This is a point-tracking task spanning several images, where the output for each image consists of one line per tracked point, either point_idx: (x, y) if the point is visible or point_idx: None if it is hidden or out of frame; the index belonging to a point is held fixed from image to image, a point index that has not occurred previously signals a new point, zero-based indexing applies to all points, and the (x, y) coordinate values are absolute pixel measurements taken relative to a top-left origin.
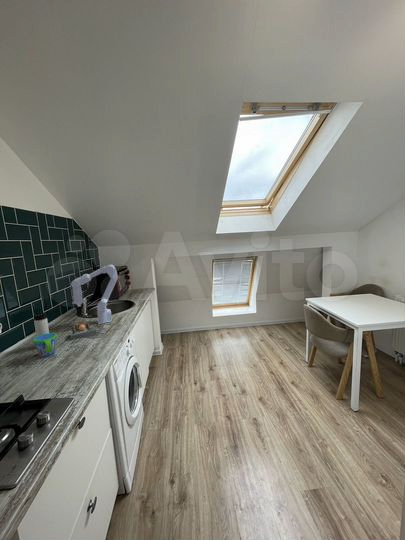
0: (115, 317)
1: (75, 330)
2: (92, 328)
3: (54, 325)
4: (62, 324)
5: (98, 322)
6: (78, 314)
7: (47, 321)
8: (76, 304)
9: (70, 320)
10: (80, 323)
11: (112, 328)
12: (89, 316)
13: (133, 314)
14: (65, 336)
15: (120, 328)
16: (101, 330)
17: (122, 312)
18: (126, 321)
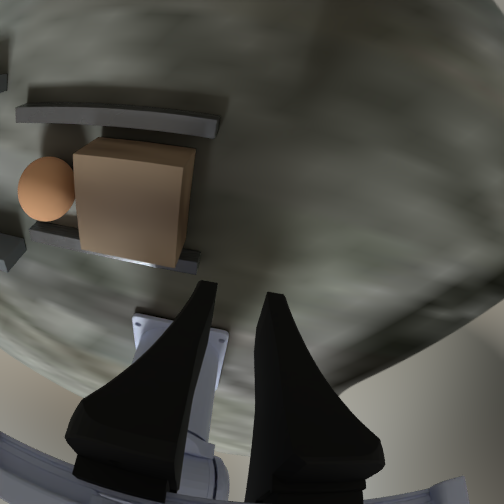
0: (216, 403)
1: (34, 121)
2: (13, 248)
3: (484, 7)
4: (452, 66)
5: (160, 324)
6: (199, 282)
7: None
8: (306, 480)
9: (495, 178)
10: (110, 202)
11: (20, 322)
12: (426, 322)
13: None
14: (8, 33)
15: (11, 339)
16: (7, 275)
17: None
18: None
